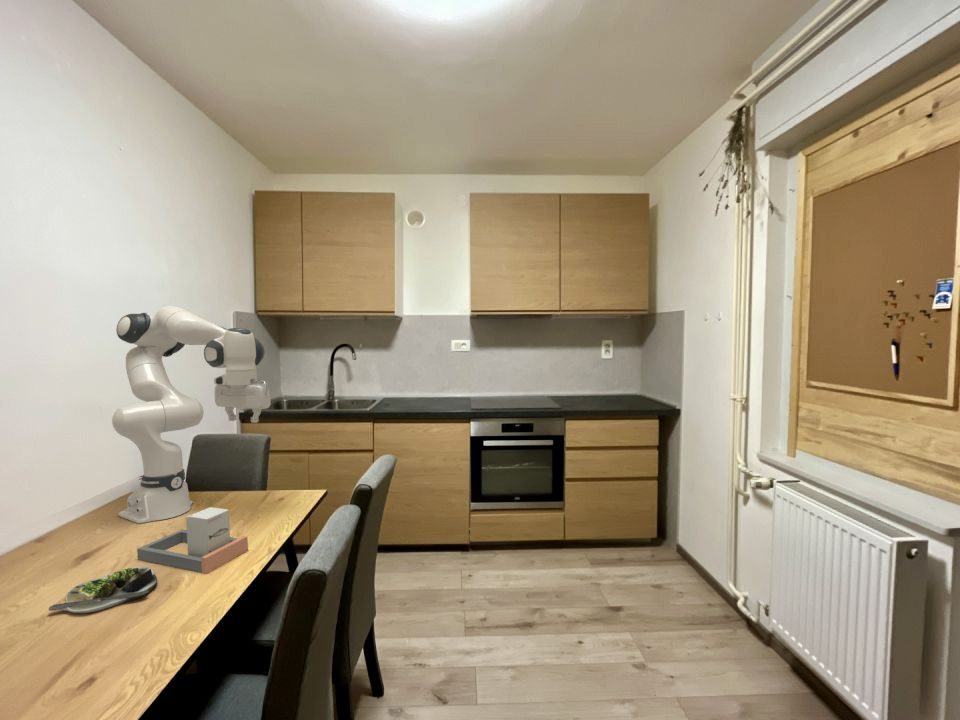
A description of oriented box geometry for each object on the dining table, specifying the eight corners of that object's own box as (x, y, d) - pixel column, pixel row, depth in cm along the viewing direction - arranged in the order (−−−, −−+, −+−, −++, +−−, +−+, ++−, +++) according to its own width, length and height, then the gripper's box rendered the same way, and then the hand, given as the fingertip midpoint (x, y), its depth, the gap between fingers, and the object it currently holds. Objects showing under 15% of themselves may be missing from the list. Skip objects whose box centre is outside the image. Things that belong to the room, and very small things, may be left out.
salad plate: (48, 634, 94) (46, 612, 93) (49, 598, 107) (48, 579, 106) (162, 595, 107) (161, 576, 106) (150, 568, 120) (149, 551, 120)
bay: (137, 559, 124) (136, 545, 124) (183, 539, 136) (182, 526, 136) (206, 573, 116) (205, 558, 116) (248, 550, 128) (247, 536, 128)
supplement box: (207, 566, 119) (205, 519, 119) (187, 562, 122) (184, 516, 121) (232, 554, 126) (229, 509, 126) (212, 550, 129) (209, 506, 128)
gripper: (274, 378, 146) (276, 421, 147) (226, 377, 153) (228, 417, 154) (258, 381, 140) (260, 425, 141) (209, 378, 148) (211, 421, 148)
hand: (243, 421), depth 148 cm, fingers open, 8 cm apart
